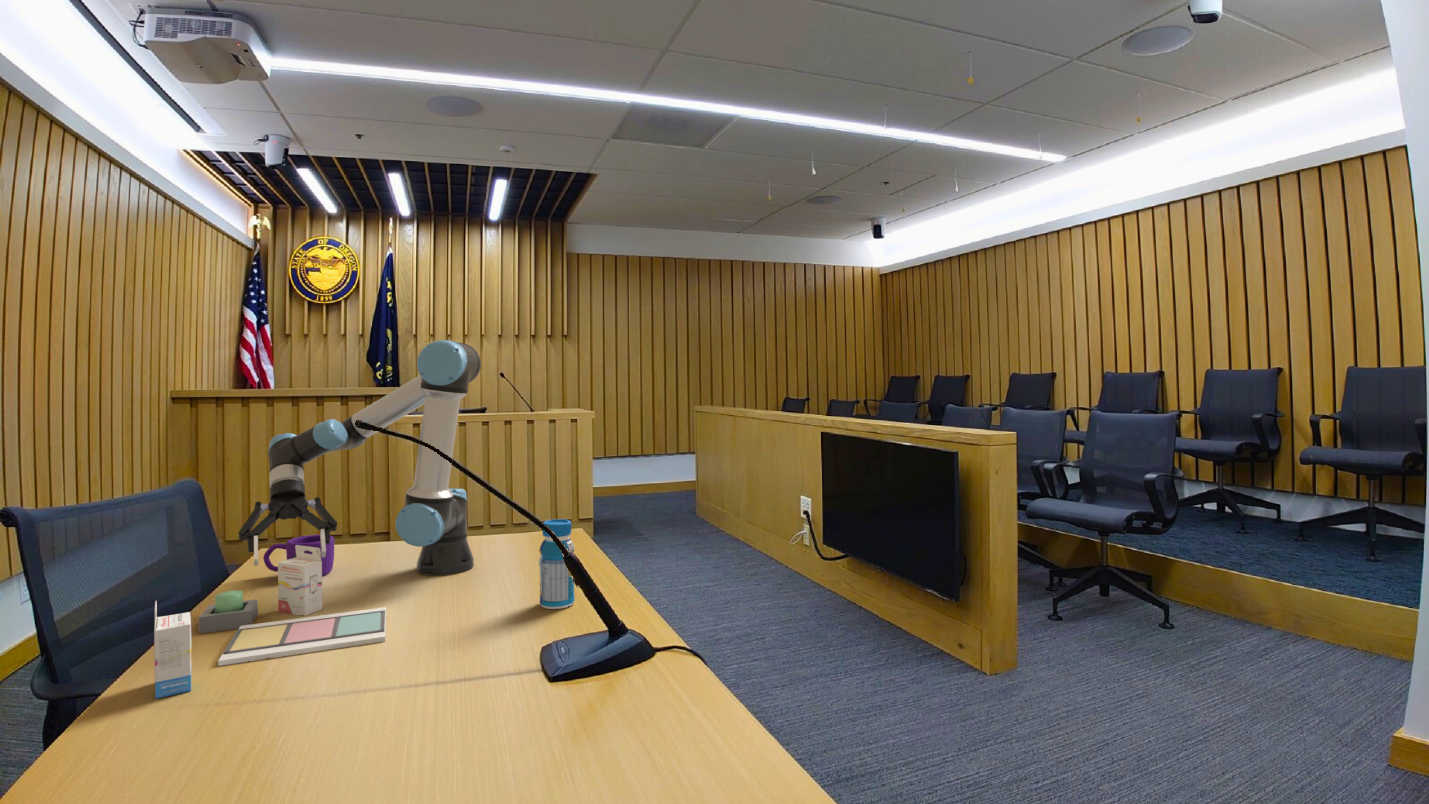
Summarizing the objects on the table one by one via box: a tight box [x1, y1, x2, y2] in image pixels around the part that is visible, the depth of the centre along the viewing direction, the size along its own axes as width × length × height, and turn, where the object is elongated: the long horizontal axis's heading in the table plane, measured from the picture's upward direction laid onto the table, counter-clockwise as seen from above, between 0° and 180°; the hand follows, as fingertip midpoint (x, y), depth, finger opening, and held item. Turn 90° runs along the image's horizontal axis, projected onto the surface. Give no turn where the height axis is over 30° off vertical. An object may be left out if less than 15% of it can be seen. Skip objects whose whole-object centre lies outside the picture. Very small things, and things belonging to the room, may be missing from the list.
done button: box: [214, 590, 244, 613], centre depth 147 cm, size 5×5×5 cm
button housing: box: [198, 598, 259, 635], centre depth 147 cm, size 9×9×4 cm
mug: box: [262, 534, 335, 577], centre depth 184 cm, size 17×11×10 cm, turn 103°
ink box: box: [153, 600, 192, 700], centre depth 116 cm, size 8×5×15 cm, turn 39°
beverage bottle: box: [538, 518, 576, 610], centre depth 160 cm, size 8×8×20 cm
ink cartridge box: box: [277, 545, 323, 617], centre depth 155 cm, size 9×5×15 cm, turn 71°
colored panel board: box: [217, 606, 387, 667], centre depth 140 cm, size 28×20×1 cm
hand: (290, 558), depth 158 cm, fingers open, 13 cm apart
